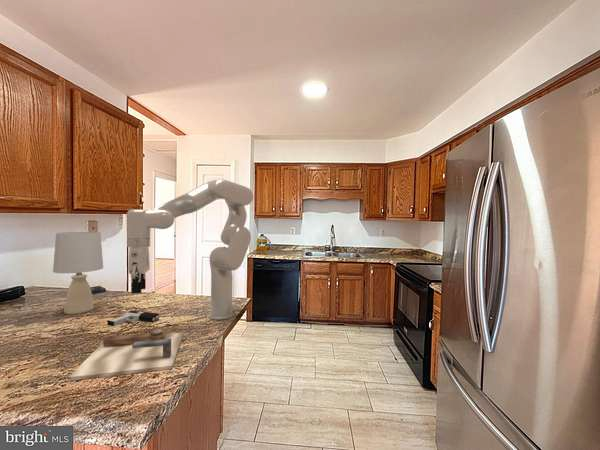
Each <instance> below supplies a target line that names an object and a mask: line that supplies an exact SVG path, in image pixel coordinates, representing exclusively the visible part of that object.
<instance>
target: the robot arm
mask: <svg viewBox="0 0 600 450" xmlns="http://www.w3.org/2000/svg"><path fill="white" fill-rule="evenodd" d="M216 200H224V201H225V203H226V205H227V207H228V215H227V216H228V217H227V219H226V222H225V224H224V227H223V229H222V232H221V234H220V241H221V242H222V243H223V244H224V245H226V246H227V247H225V246H217V247H215V248H213V250H212V251H211V252H210V255H209V260H208V261H209V267H210V310H209V311H208V312H207V313H206V316H207V318H208V319H210V320H216V321H218V320H219V321H221V320H227V319H230V318H231V319H232V318H234V317H235V316H236V312H241V311H243V306H240V305H234V303H233V281H234V280H233V278H234V277H233V271H237V270H238V269H239V268H240V267H241V266H242V264H243V263H244V260H245V258H246V254H247V251H248V249H249V245H250V243H251V240H252V239H251V237H252V235H251V231H250V230H249V228H247V227H245V224H246V221H247V217H248V215H247V210H246V207H245V206H248V205H250V204H251V203H252V202H253V200H254V194H253V191H252V190H251V189H250V188H249V187H247V186H246V185H243V184H239V183H236V182H233V181H230V180H227V179H223V178H219V179H212V180H209V181H208V182H205V183H203V184H201V185H199V186H197V187H196V188H193V189H192V190H189V191H188V192H186V193H184V194H181V195H180V196H177V197H175V198H174V199H171V200H169V201H167V202H165V203H163V204H161V205H159V206H156V207H155V208H153V209H151V210H147V209H129V210H128V211H127V213H126V214H127V215H126V248H129V250H128V274H129V275H130V283H131V284H130V285H131V286H130V287H131V288H130V289H131V291H130V294H142V290H145V289H146V286H147V285H146V273H147V272H148V271H149V270H150V269H151V268H150V267H151V265H150V264H151V263H150V262H151V261H150V250H149V247H151V229H158V230H167V229H169V228H170V227H172V226H173V225H174V223H175V219H177V218H178V217H181V216H185V215H188V214H192V213H193V214H194V213H195V212H198V211H199V210H201V209H203V208H204V207H206V206H208V205H210V204H211V203H213V202H215V201H216Z"/></svg>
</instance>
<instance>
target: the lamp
mask: <svg viewBox="0 0 600 450" xmlns="http://www.w3.org/2000/svg"><path fill="white" fill-rule="evenodd" d="M54 242H55V243H54V255H53V266H52V267H53V268H52V273H55V274H74V275H72V276H70V278H71V279H72V280H71V282H70V285H69V286H68V290H67V292H66V294H65V295H66V296H65V300H64V308H63V312H64V314H65V315H79V314H85V313H88V312H91V311H92V310H94V308H95V304H94V299H93V297H94V296H93V294H92V292H91V289H90V287H91V286H90V284H89V281H87V277H88V274H85V273H88V272H94V271H95V272H96V271H100V270H103V269H104V261H103V260H104V259H103V248H102V244H103V243H102V235H101V232H100V231H99V232H98V231H68V232H66V231H65V232H64V231H63V232H55V241H54ZM83 273H84V274H83Z"/></svg>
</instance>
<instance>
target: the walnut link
mask: <svg viewBox="0 0 600 450" xmlns="http://www.w3.org/2000/svg"><path fill="white" fill-rule="evenodd" d="M166 334H167V333H166V331H161V333H160V334H157V335H154V334H153V332H146V333H134V334H121V335H110V336H106V337H104V338H103V339H102V340H103V341H102V342H103V345H104V346H111V345H122V344H133V343H134V342H138V341H149V340H160V339H165V337H166Z"/></svg>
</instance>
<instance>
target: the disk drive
mask: <svg viewBox="0 0 600 450" xmlns="http://www.w3.org/2000/svg"><path fill="white" fill-rule="evenodd" d="M90 289H91V292H92V295H97V294H103V293H106V292H107V289H106V288H105V287H103V286H101V285H97V286H90Z"/></svg>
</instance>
